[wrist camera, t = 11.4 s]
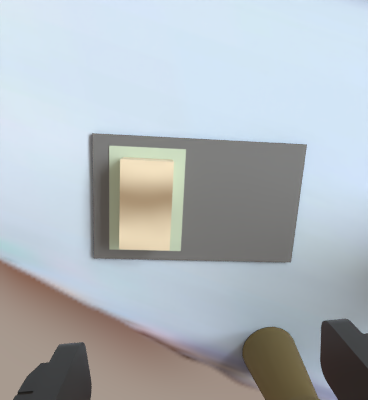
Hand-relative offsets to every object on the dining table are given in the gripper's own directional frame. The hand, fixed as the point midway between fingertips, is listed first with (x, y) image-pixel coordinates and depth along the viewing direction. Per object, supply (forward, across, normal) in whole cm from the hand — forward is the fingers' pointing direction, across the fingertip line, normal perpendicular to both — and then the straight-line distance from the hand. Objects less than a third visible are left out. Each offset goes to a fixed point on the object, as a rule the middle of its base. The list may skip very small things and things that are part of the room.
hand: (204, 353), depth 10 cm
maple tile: (+19, +3, -1) cm, 19 cm away
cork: (+20, -8, +17) cm, 28 cm away
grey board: (+20, -2, -1) cm, 20 cm away
